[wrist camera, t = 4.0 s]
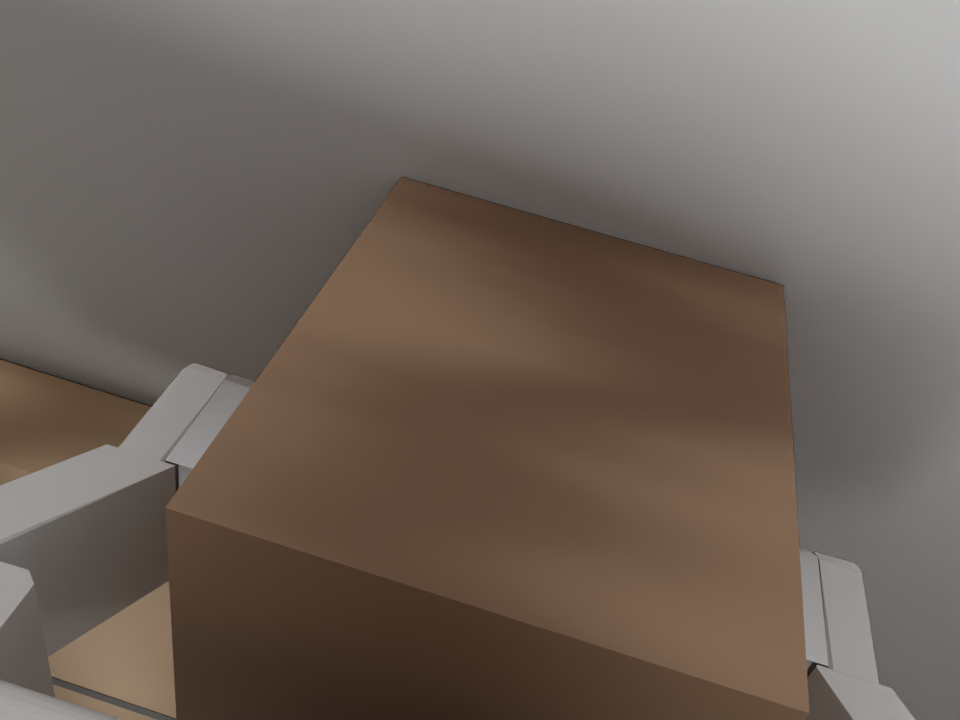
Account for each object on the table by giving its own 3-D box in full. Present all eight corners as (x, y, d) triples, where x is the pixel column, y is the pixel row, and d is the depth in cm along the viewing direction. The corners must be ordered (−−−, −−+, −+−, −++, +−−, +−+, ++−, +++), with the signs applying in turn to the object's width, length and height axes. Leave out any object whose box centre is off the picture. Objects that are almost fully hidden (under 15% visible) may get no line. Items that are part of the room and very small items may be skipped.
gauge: (783, 285, 11) (809, 713, 7) (552, 770, 19) (487, 1126, 14) (401, 176, 12) (164, 508, 7) (327, 696, 19) (192, 1018, 15)
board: (699, 579, 15) (694, 686, 13) (563, 825, 20) (548, 922, 19) (-602, 170, 16) (-748, 222, 15) (-394, 503, 22) (-483, 567, 20)
